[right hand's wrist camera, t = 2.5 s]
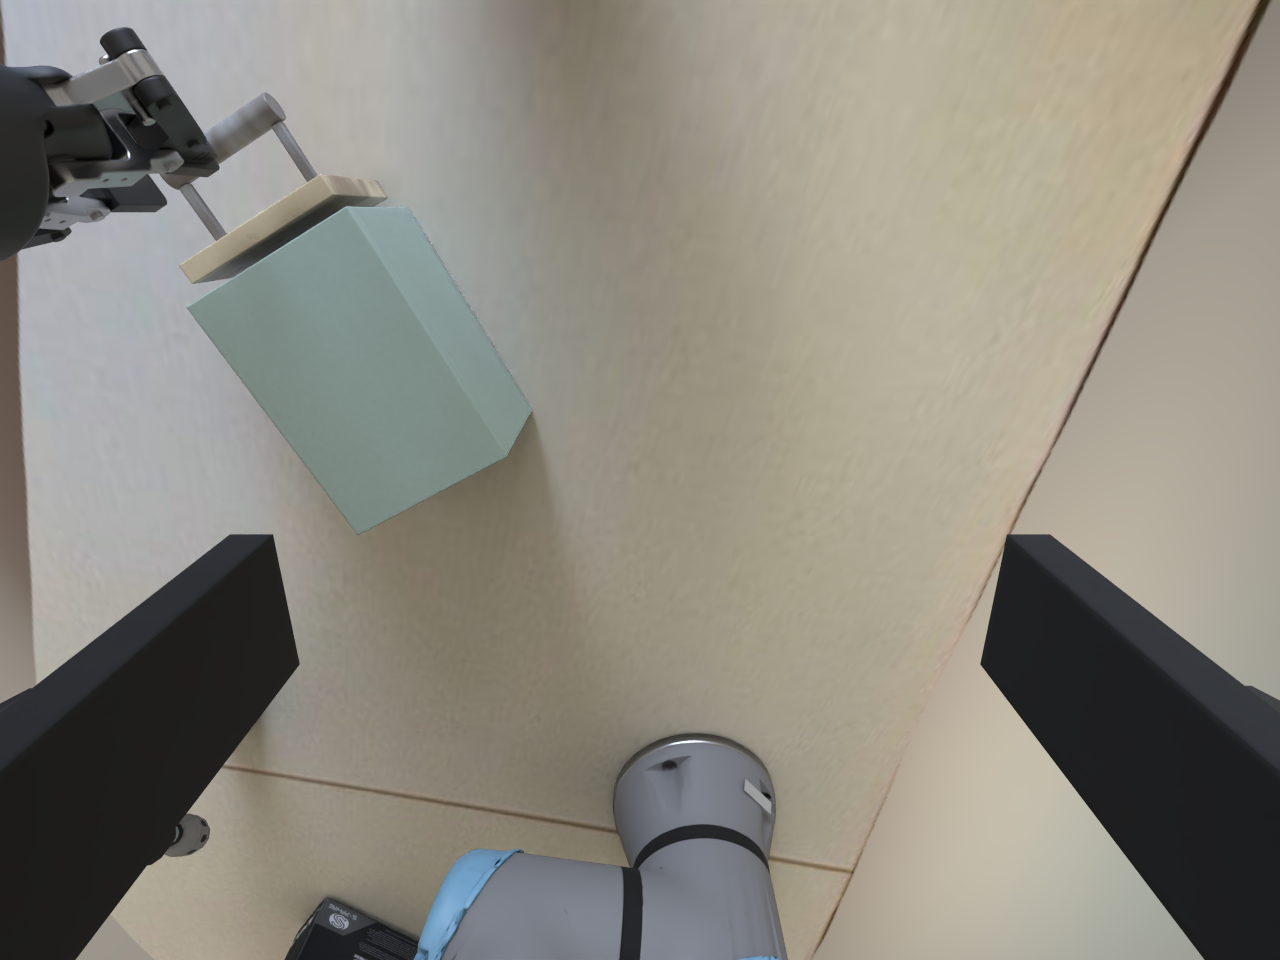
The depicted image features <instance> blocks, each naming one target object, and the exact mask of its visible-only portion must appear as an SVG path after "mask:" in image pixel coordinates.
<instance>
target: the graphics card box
mask: <svg viewBox="0 0 1280 960" xmlns="http://www.w3.org/2000/svg"><path fill="white" fill-rule="evenodd" d="M418 943H419V942H417V941H415V940H413V939H411V938H409V937H407V936H406V935H403V934H401V933H399V932H397V931H395V930H393V929H391V928H389V927H387V926H385V925H383V924H380V923H379V922H377V921H375V920H374V919H371V918H369V917H366V916H365V915H363V914H361V913H358V912H357V911H355V910H353V909H350V908H348V907H347V906H344V905H342V904H340V903H338V902H336V901H335V900H332V899H330V898H326V899H324V900H323V901H322V902H321V903H320V904H319V906H318V907H317V909H316V910H315V911H314V912H313V914H312V915H311V916H310V918H309V919H308V920H307V921H306V923H305V924H304V925H303V926H302V927H301V929H300V930H299V932H298V933H297V935H296V937H295V939H294V941H293V944H292V946H291V947H290V950H289V952H288V954H287V956H286V958H285V960H414V958H415V956H416V954H417V951H418Z"/></svg>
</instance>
